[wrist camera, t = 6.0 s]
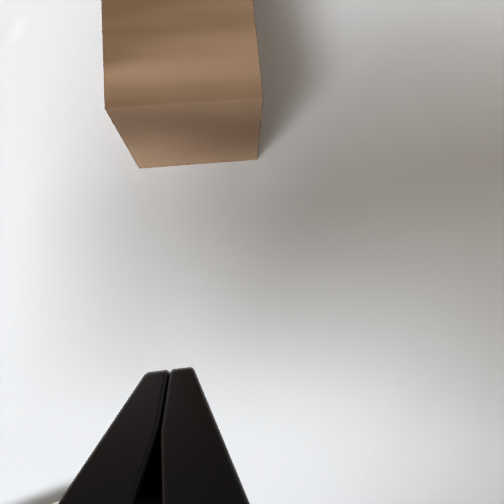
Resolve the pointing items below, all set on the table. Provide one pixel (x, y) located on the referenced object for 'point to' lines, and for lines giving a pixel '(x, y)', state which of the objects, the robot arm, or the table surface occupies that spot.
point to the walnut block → (183, 79)
